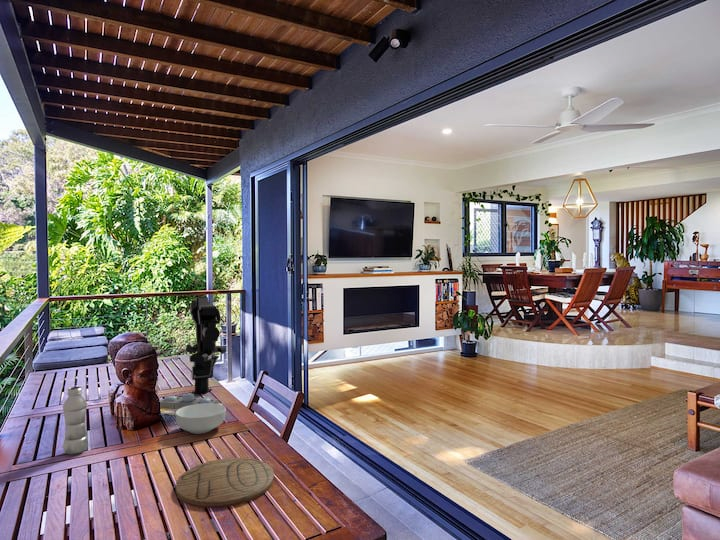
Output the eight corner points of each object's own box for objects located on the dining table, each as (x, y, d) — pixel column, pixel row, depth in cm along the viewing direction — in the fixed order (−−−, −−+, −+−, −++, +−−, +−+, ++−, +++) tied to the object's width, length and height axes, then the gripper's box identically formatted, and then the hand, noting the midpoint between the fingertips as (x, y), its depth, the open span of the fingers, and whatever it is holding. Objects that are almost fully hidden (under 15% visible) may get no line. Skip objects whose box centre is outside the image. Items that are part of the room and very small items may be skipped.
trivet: (177, 519, 107) (177, 510, 107) (174, 473, 130) (173, 466, 130) (284, 496, 117) (284, 489, 117) (263, 458, 140) (263, 451, 140)
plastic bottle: (62, 458, 139) (60, 392, 139) (64, 450, 145) (63, 387, 145) (87, 454, 142) (86, 389, 142) (88, 446, 148) (87, 384, 148)
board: (169, 402, 194) (169, 394, 194) (223, 405, 190) (223, 397, 190) (148, 413, 180) (148, 405, 180) (205, 417, 176) (205, 408, 176)
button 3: (203, 404, 187) (203, 397, 187) (213, 405, 186) (213, 397, 186) (197, 408, 183) (197, 400, 183) (207, 408, 182) (207, 401, 182)
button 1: (169, 402, 190) (169, 395, 190) (179, 403, 189) (179, 395, 189) (162, 405, 186) (162, 398, 186) (172, 406, 185) (172, 399, 185)
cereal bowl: (235, 429, 164) (235, 409, 163) (190, 442, 151) (190, 421, 151) (210, 418, 175) (210, 399, 175) (166, 430, 163) (166, 409, 163)
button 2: (186, 400, 189) (186, 393, 189) (196, 401, 188) (195, 393, 188) (179, 403, 184) (179, 396, 184) (190, 404, 183) (190, 396, 183)
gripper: (202, 331, 201) (202, 367, 202) (177, 340, 183) (177, 379, 183) (226, 333, 199) (226, 369, 199) (203, 341, 180) (203, 381, 181)
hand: (208, 374), depth 191 cm, fingers closed
